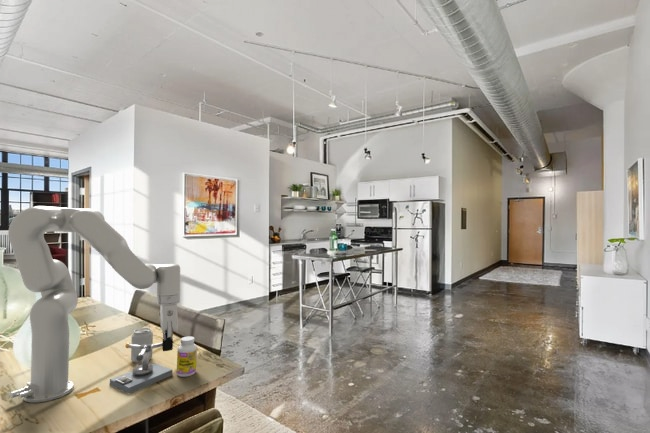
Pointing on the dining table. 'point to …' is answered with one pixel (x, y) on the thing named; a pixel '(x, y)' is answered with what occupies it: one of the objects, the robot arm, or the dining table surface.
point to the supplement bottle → (186, 357)
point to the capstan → (143, 358)
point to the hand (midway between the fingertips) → (167, 349)
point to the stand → (140, 379)
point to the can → (141, 342)
